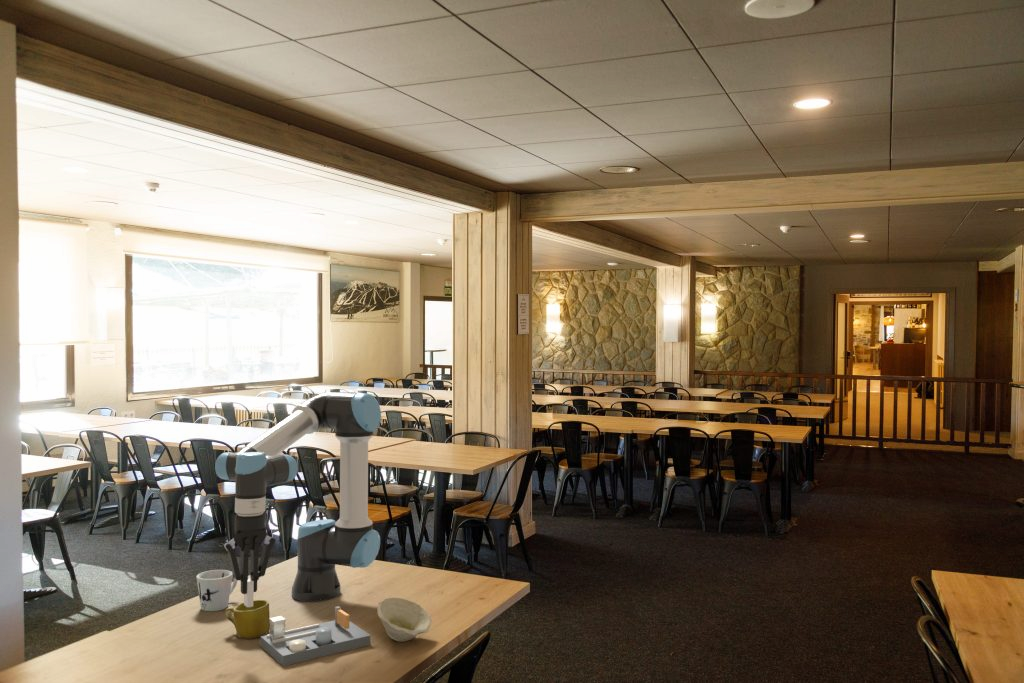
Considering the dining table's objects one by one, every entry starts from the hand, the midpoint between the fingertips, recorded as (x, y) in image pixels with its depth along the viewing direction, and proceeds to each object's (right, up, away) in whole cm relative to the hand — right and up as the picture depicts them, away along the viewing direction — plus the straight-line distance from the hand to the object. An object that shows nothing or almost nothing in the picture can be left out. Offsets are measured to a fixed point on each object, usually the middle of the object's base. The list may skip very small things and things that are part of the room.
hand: (248, 605), depth 203 cm
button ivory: (+13, -12, -1) cm, 18 cm away
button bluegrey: (+18, -11, +3) cm, 22 cm away
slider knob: (+6, -10, +5) cm, 13 cm away
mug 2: (-5, -13, +15) cm, 21 cm away
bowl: (+38, -13, +11) cm, 42 cm away
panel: (+16, -13, +7) cm, 21 cm away
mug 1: (-21, -13, +38) cm, 45 cm away
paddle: (+21, -10, +13) cm, 27 cm away
